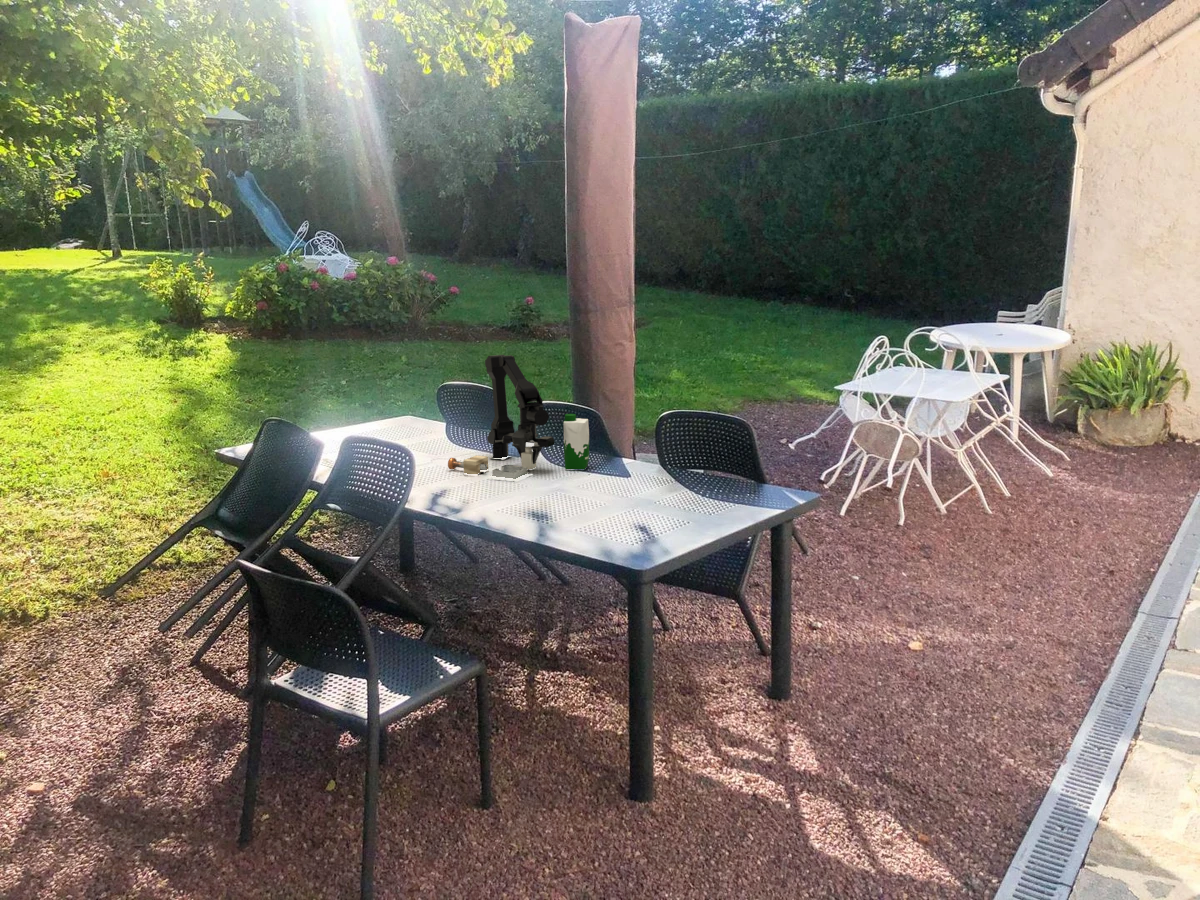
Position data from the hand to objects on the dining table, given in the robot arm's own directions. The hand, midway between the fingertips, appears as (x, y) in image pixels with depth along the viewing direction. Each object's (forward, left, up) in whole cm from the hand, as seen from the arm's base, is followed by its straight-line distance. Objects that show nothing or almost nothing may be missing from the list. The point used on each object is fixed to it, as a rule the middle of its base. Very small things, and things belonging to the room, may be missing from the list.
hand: (528, 463), depth 346 cm
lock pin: (+12, -18, -2) cm, 22 cm away
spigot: (0, 0, -2) cm, 2 cm away
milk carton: (-9, +15, -3) cm, 18 cm away
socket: (+12, -1, -2) cm, 12 cm away
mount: (+12, -15, -2) cm, 19 cm away
